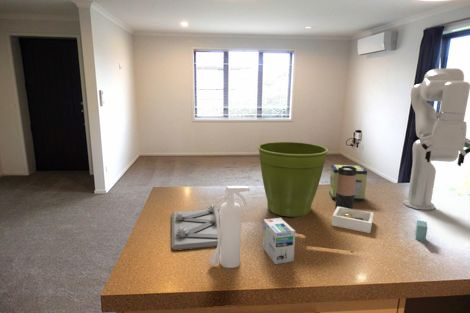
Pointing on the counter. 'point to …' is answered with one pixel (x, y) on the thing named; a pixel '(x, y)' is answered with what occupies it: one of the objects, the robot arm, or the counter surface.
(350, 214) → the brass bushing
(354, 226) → the tub
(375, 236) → the counter surface
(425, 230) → the lid
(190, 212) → the grey zigzag panel
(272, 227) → the light bulb box
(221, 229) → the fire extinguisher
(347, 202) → the travel mug
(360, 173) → the protein box
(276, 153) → the plant pot
